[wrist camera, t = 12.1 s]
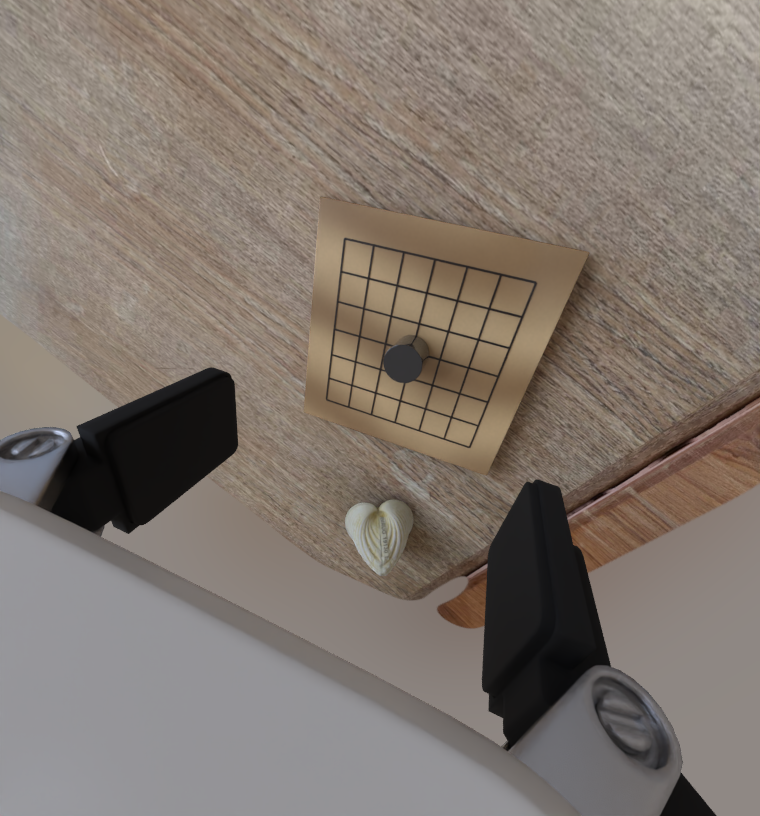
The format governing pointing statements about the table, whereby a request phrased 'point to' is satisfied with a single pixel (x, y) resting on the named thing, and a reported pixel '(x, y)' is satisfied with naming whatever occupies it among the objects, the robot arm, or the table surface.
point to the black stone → (406, 359)
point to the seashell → (380, 532)
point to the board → (430, 327)
